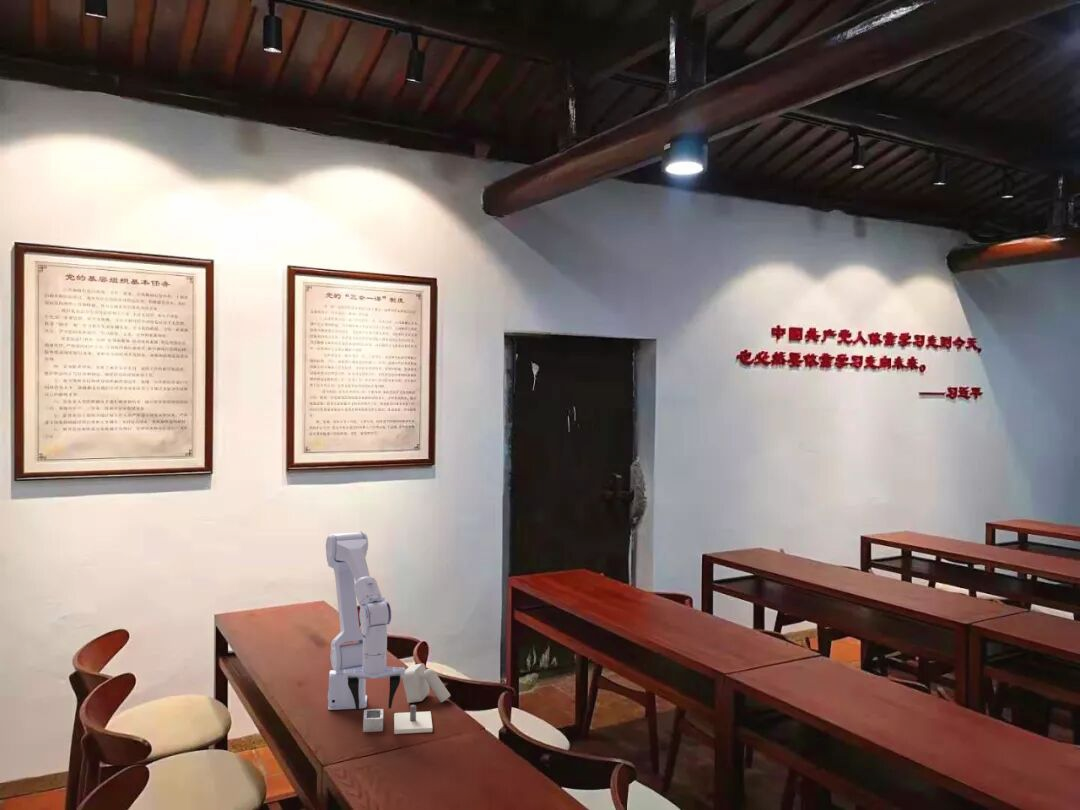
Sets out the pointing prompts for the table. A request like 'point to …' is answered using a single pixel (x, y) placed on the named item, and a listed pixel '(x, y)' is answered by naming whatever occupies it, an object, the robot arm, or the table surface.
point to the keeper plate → (412, 721)
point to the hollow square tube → (373, 720)
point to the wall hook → (423, 684)
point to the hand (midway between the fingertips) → (373, 707)
